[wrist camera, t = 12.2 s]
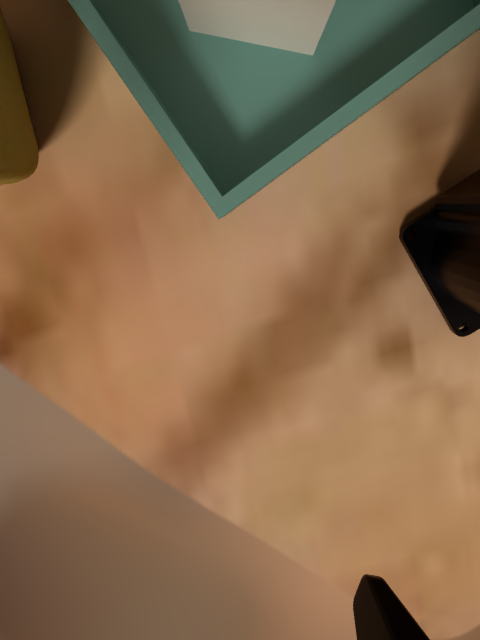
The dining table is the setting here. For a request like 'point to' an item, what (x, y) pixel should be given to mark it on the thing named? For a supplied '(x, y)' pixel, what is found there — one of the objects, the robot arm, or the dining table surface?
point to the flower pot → (14, 118)
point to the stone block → (261, 21)
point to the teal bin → (266, 81)
